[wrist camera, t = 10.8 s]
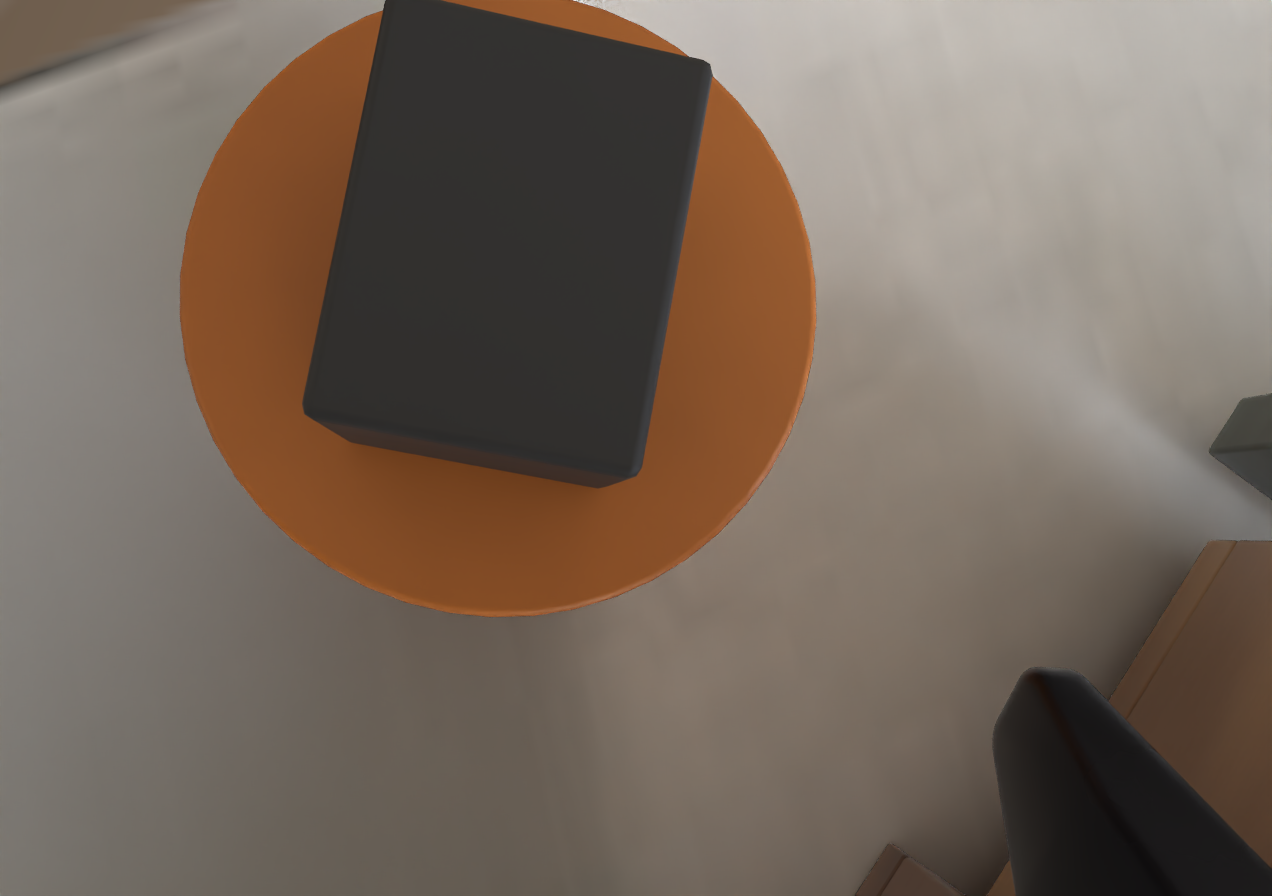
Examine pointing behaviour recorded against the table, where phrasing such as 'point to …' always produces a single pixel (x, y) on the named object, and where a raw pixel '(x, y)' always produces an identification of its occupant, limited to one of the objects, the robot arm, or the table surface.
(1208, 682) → the drawer
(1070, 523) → the table surface
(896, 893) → the cabinet
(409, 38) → the orange cylinder with cap
